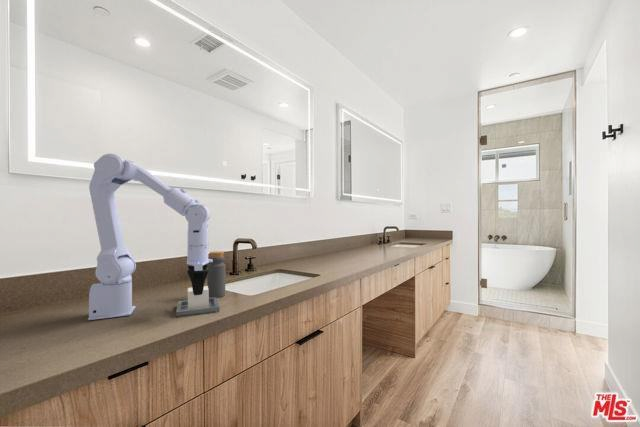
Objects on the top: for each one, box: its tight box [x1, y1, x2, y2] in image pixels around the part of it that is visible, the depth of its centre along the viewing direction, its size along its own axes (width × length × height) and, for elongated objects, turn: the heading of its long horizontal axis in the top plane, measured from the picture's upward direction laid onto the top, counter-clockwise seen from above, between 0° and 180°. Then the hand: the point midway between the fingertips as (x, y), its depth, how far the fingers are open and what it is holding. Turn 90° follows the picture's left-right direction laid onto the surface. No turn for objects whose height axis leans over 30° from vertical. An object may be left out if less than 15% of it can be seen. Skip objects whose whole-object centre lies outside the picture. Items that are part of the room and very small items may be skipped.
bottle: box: [206, 250, 227, 299], centre depth 99 cm, size 6×6×15 cm
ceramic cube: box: [187, 285, 210, 310], centre depth 85 cm, size 6×6×6 cm
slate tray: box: [175, 297, 220, 318], centre depth 85 cm, size 11×11×1 cm
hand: (197, 291), depth 85 cm, fingers open, 7 cm apart
